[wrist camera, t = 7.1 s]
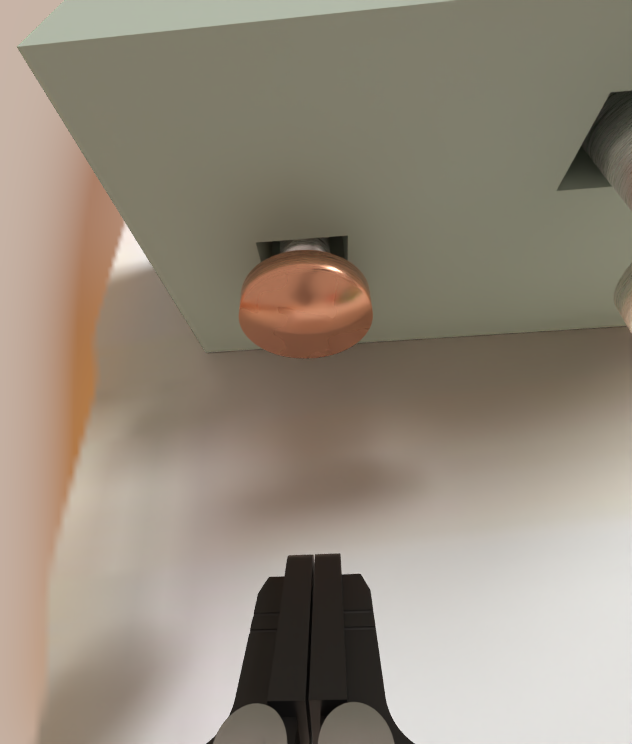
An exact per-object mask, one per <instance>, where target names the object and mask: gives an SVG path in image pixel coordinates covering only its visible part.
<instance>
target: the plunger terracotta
mask: <svg viewBox="0 0 632 744" xmlns="http://www.w3.org/2000/svg"><path fill="white" fill-rule="evenodd" d="M372 320H373V310H372V303H371V296H370V290H369V285H368V282H367V280H366V278H365V276H364V275H363V273H362V272H361V271H360V270H359V269H358V268H357V267H356V266H355V265H353V264H352V263H351V262H349V261H348V260H346V259H344V258H342V257H340V256H337V255H334V254H331V253H330V248H329V237H321V238H308V239H295V240H282V241H280V254H277V255H274V256H272V257H270V258H268V259H266V260H264V261H262V262H261V263H259V264H258V265H256V266H255V267H254V268H253V269H252V270H251V271H250V272H249V274H248V275H247V276H246V278H245V280H244V282H243V285H242V289H241V298H240V307H239V323H240V326H241V328H242V330H243V332H244V334H245V335H246V336H247V337H248V338H249V339H250V340H251V341H252V342H253V343H254V344H256V345H257V346H259V347H260V348H262V349H264V350H266V351H268V352H271V353H274V354H277V355H281V356H285V357H291V358H319V357H325V356H329V355H333V354H336V353H339V352H342V351H344V350H346V349H348V348H350V347H352V346H353V345H355V344H356V343H358V342H359V341H360V340H361V339H362V338H363V337H364V336H365V335H366V334H367V332H368V330H369V329H370V327H371V324H372Z"/></svg>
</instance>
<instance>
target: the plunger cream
mask: <svg viewBox="0 0 632 744" xmlns="http://www.w3.org/2000/svg"><path fill="white" fill-rule="evenodd" d="M581 146H582V148H583V149H584V150H585V152H586V153H587V154H588V156H589V157H590V158H591V159H592V161H593V162H594V163H595V165H596V166H597V167H598V169H599V170H600V171H601V173H602V174H603V175H604V176H605V178H606V179H607V180H608V182H609V183H610V184H611V186H612V187H613V188H614V190H615V191H616V192H617V193H618V195H619V196H620V197H621V199H622V200H623V201H624V203H625V204H626V205H627V206H628V208H629V209H630V210H631V212H632V90H631V91H621V92H610V94H609V96H608V98H607V100H606V102H605V103H604V105H603V107H602V109H601V111H600V112H599V114H598V116H597V118H596V120H595V121H594V123H593V125H592V127H591V129H590V131H589V132H588V134H587V136H586V138H585V140H584V141H583V143H582V145H581ZM613 297H614V304H615V306H616V308H617V310H618V312H619V313H620V315H621V317H622V318H623V320H624V322H625V323H626V325H627V327H628V328H629V330H630V332H631V333H632V263H631V264H630V265H629V267H628V268H627V269H626V270H625V272H624V273H623V275H622V276H621V278H620V279H619V281H618V283H617V285H616V287H615V291H614V295H613Z"/></svg>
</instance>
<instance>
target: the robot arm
mask: <svg viewBox="0 0 632 744" xmlns="http://www.w3.org/2000/svg"><path fill="white" fill-rule="evenodd" d="M207 744H414V743H413V742H412V741H410V740H409V739H408V738H407V737H406V736H405V735H404V734H403V733H402V732H401V731H400V729H399V728H398V727H397V725H396V724H395V722H394V721H393V719H392V717H391V715H390V712H389V709H388V707H387V703H386V698H385V691H384V684H383V677H382V670H381V663H380V656H379V648H378V641H377V634H376V628H375V620H374V613H373V606H372V599H371V591H370V589H369V587H368V585H367V584H366V582H365V581H364V579H363V577H362V576H361V574H344V575H342V573H341V557H340V554H315V563H314V555H288V558H287V563H286V571H285V577H269V578H268V579H267V581H266V582H265V584H264V585H263V587H262V588H261V590H260V591H259V593H258V596H257V601H256V606H255V610H254V617H253V619H252V624H251V628H250V634H249V638H248V642H247V647H246V651H245V656H244V660H243V665H242V670H241V674H240V679H239V683H238V688H237V692H236V697H235V701H234V705H233V708H232V710H231V713H230V715H229V717H228V718H227V719H226V720H225V722H224V723H223V724H222V726H221V727H220V729H219V731H218V733H217V734H216V735H215V737H214V738H212V739H211V740H210V741H209V742H208V743H207Z"/></svg>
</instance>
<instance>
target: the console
mask: <svg viewBox="0 0 632 744" xmlns="http://www.w3.org/2000/svg"><path fill="white" fill-rule="evenodd" d="M17 48H18V49H19V51H20V53H21V54H22V56H23V58H24V59H25V61H26V63H27V64H28V66H29V67H30V69H31V71H32V72H33V74H34V76H35V77H36V79H37V80H38V82H39V84H40V85H41V87H42V88H43V90H44V92H45V93H46V95H47V97H48V98H49V100H50V101H51V103H52V105H53V106H54V108H55V109H56V111H57V113H58V114H59V116H60V118H61V119H62V121H63V122H64V124H65V126H66V127H67V129H68V131H69V132H70V134H71V135H72V137H73V139H74V140H75V141H76V143H77V145H78V147H79V148H80V150H81V152H82V153H83V155H84V156H85V158H86V160H87V161H88V163H89V165H90V166H91V168H92V169H93V171H94V173H95V174H96V176H97V177H98V179H99V181H100V182H101V184H102V185H103V187H104V189H105V190H106V191H107V194H108V195H109V197H110V198H111V200H112V202H113V203H114V205H115V206H116V208H117V210H118V211H119V213H120V215H121V216H122V218H123V220H124V221H125V223H126V224H127V226H128V228H129V229H130V231H131V232H132V234H133V236H134V237H135V239H136V241H137V242H138V244H139V245H140V247H141V249H142V250H143V252H144V254H145V255H146V257H147V258H148V260H149V262H150V263H151V265H152V266H153V268H154V270H155V271H156V273H157V275H158V276H159V278H160V279H161V281H162V283H163V284H164V286H165V288H166V289H167V291H168V292H169V294H170V296H171V297H172V299H173V300H174V302H175V304H176V305H177V307H178V309H179V310H180V312H181V313H182V315H183V317H184V318H185V320H186V321H187V323H188V325H189V326H190V328H191V330H192V331H193V333H194V334H195V336H196V338H197V339H198V341H199V343H200V344H201V346H202V347H203V349H204V351H205V352H206V353H208V352H224V351H240V350H255V349H262V348H260V347H259V346H257V345H256V344H254V343H253V342H252V341H251V340H250V339H249V338H248V337H247V336H246V335H245V334H244V332H243V330H242V328H241V326H240V323H239V307H240V298H241V289H242V285H243V282H244V280H245V278H246V276H247V275H248V274H249V272H250V271H251V270H252V269H253V268H254V267H255V266H256V265H258V264H259V263H261V262H262V261H264V260H266V259H268V258H270V257H272V256H274V255H277V254H280V241H282V240H295V239H308V238H321V237H329V248H330V253H331V254H334V255H337V256H340V257H342V258H344V259H346V260H348V261H349V262H351V263H352V264H353V265H355V266H356V267H357V268H358V269H359V270H360V271H361V272H362V273H363V275H364V276H365V278H366V280H367V282H368V285H369V290H370V296H371V303H372V310H373V320H372V324H371V327H370V329H369V330H368V332H367V334H366V335H365V336H364V337H363V338H362V339H361V340H360V341H359V342H358V343H366V342H382V341H397V340H413V339H429V338H445V337H460V336H476V335H492V334H508V333H524V332H539V331H555V330H571V329H587V328H602V327H618V326H627V325H626V323H625V322H624V320H623V318H622V317H621V315H620V313H619V312H618V310H617V308H616V306H615V304H614V297H613V295H614V291H615V287H616V285H617V283H618V281H619V279H620V278H621V276H622V275H623V273H624V272H625V270H626V269H627V268H628V267H629V265H630V264H631V263H632V212H631V210H630V209H629V208H628V206H627V205H626V204H625V203H624V201H623V200H622V199H621V197H620V196H619V195H618V193H617V192H616V191H615V190H614V188H613V187H612V186H611V184H610V183H609V182H608V180H607V179H606V178H605V176H604V175H603V174H602V173H601V171H600V170H599V169H598V167H597V166H596V165H595V163H594V162H593V161H592V159H591V158H590V157H589V156H588V154H587V153H586V152H585V150H584V149H583V148H582V146H581V145H582V143H583V141H584V140H585V138H586V136H587V134H588V132H589V131H590V129H591V127H592V125H593V123H594V121H595V120H596V118H597V116H598V114H599V112H600V111H601V109H602V107H603V105H604V103H605V102H606V100H607V98H608V96H609V94H610V92H621V91H631V90H632V0H64V1H63V2H62V3H61V4H60V5H59V6H58V7H57V8H56V9H55V10H54V11H53V12H52V13H51V14H50V15H49V16H48V17H47V18H46V19H45V20H44V21H43V22H42V23H41V24H40V25H39V26H38V27H37V28H36V29H35V30H33V31H32V32H31V33H30V34H29V35H28V36H27V37H26V38H25V39H24V40H23V41H22V42H21V43H20V44H19V45H18V46H17Z"/></svg>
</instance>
